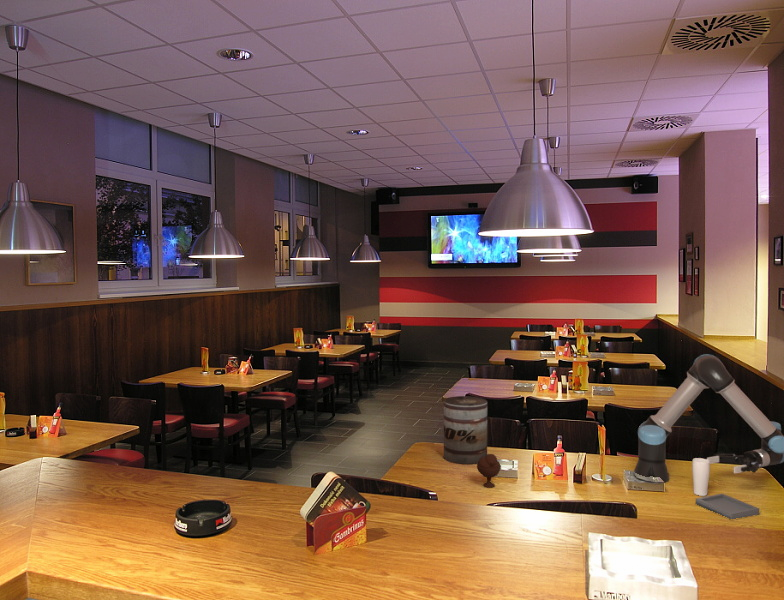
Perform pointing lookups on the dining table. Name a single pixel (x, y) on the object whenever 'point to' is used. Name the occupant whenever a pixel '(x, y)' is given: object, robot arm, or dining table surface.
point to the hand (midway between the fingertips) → (720, 465)
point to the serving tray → (727, 506)
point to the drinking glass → (700, 476)
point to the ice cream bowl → (488, 468)
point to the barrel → (465, 429)
